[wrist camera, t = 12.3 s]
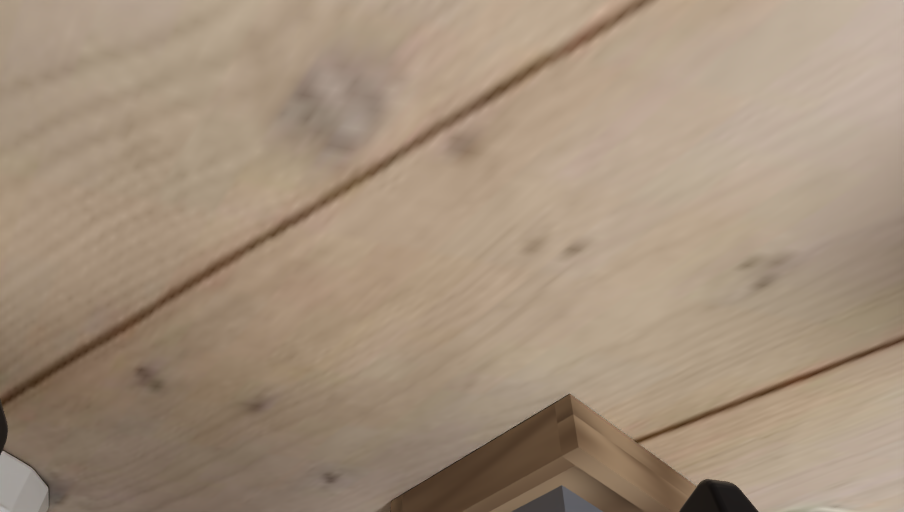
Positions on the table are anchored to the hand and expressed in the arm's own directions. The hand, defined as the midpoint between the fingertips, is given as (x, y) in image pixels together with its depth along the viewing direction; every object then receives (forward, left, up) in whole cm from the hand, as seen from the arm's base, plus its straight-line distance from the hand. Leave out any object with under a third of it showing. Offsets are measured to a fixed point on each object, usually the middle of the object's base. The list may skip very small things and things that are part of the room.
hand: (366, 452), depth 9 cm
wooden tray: (+10, -20, -13) cm, 26 cm away
